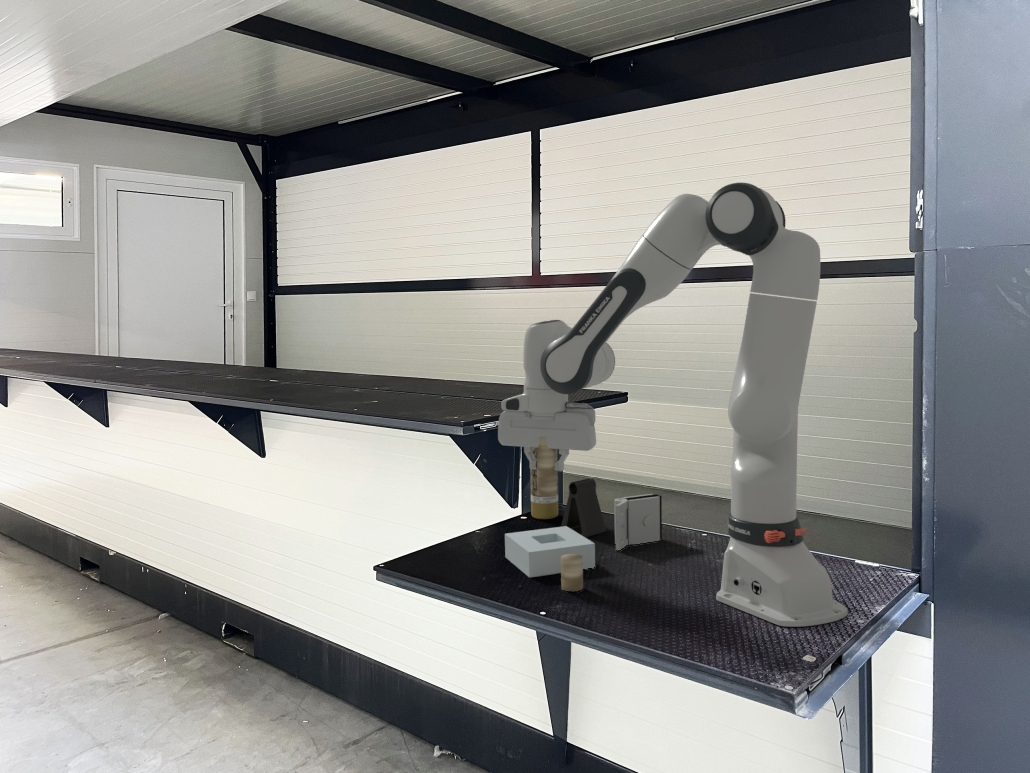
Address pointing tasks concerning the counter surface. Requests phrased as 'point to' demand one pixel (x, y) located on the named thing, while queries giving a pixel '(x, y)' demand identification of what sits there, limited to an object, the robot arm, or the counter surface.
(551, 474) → the tall pin
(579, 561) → the short pin
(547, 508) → the bark-patterned tube
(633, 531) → the hinge
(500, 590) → the counter surface
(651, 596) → the counter surface
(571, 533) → the hole board
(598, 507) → the phone stand
